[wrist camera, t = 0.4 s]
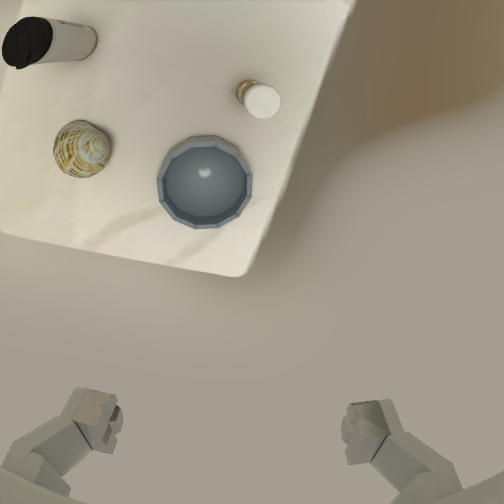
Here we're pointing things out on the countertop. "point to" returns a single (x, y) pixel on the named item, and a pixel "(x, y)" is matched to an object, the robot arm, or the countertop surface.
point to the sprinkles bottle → (258, 99)
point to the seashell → (81, 149)
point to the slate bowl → (204, 182)
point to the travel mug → (47, 42)
